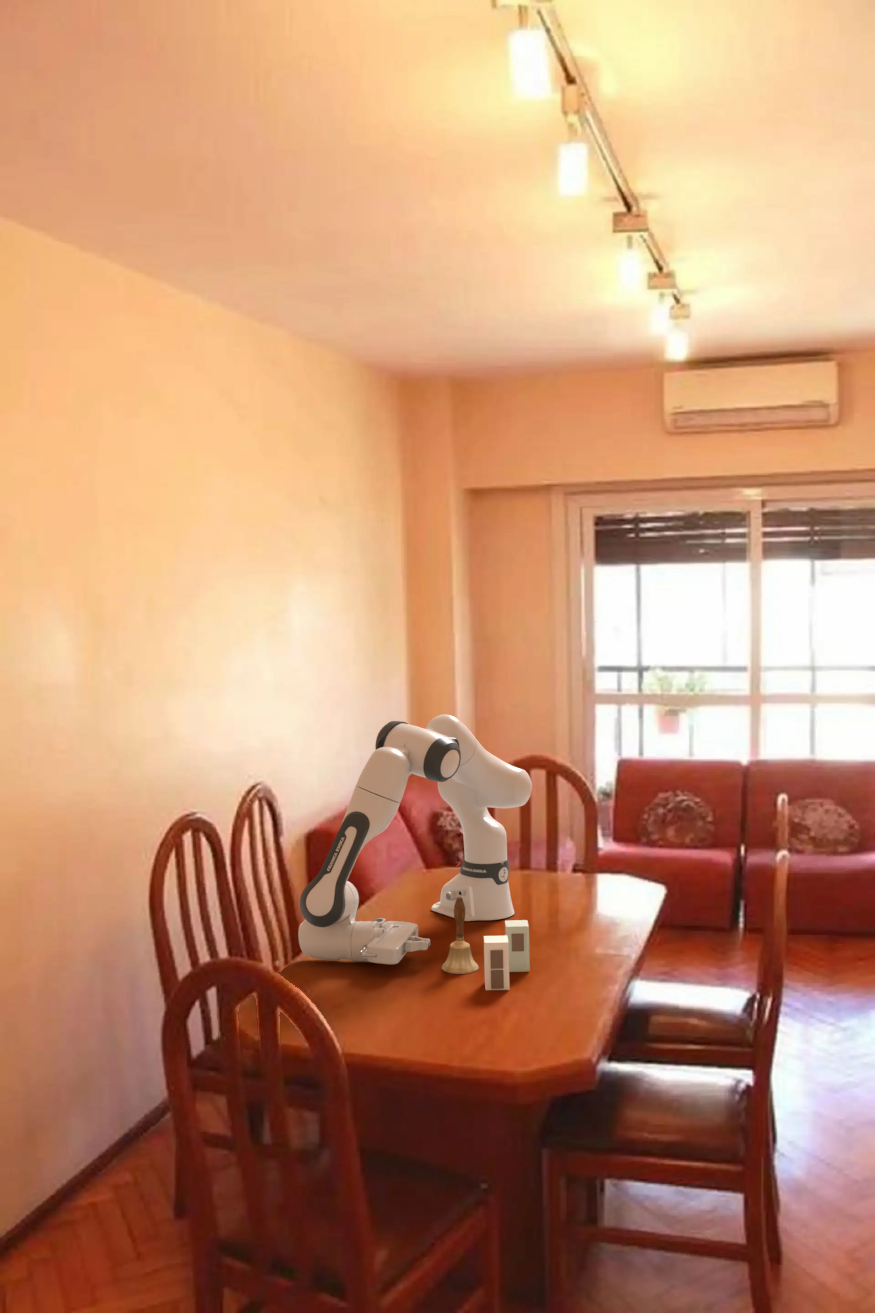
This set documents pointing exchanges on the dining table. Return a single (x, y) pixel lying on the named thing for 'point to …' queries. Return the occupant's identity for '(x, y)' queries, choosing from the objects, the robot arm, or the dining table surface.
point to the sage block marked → (518, 945)
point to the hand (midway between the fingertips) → (428, 944)
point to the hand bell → (459, 946)
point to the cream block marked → (496, 962)
